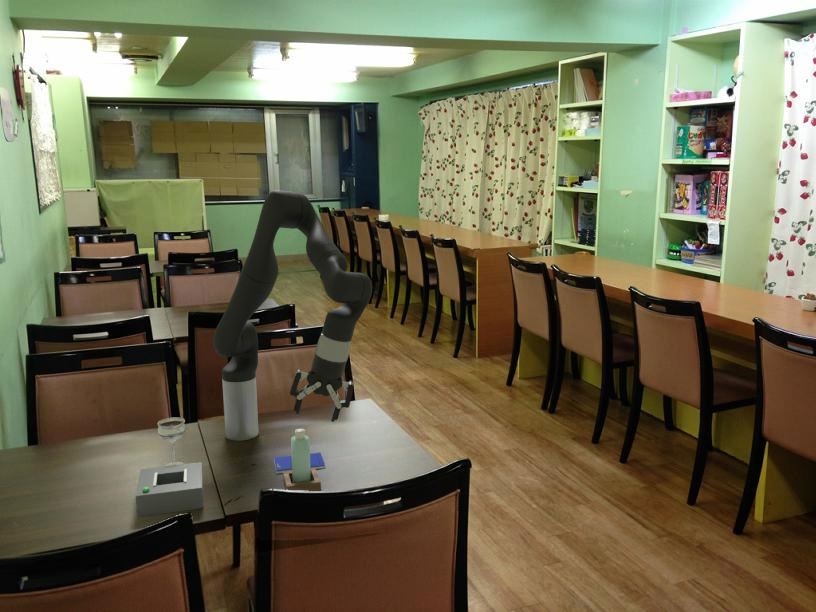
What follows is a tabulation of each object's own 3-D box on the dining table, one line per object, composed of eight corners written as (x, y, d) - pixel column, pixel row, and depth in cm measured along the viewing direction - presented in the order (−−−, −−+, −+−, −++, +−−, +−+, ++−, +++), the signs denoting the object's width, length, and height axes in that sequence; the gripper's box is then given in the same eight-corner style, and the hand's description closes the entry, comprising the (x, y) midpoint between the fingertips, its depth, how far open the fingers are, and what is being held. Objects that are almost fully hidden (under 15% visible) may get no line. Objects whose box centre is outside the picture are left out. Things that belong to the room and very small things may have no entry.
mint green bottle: (291, 481, 168) (289, 428, 165) (309, 479, 169) (307, 426, 167) (293, 490, 164) (291, 435, 161) (312, 487, 165) (310, 433, 162)
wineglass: (168, 474, 172) (165, 429, 170) (155, 466, 177) (152, 422, 174) (193, 465, 177) (190, 421, 175) (179, 458, 182) (176, 415, 179)
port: (142, 488, 165) (140, 466, 164) (203, 480, 169) (201, 459, 168) (137, 516, 152) (135, 493, 150) (203, 507, 156) (201, 485, 154)
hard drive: (276, 469, 173) (325, 464, 176) (273, 456, 180) (320, 451, 184) (276, 475, 173) (325, 470, 176) (273, 462, 181) (320, 457, 184)
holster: (283, 479, 169) (282, 472, 169) (315, 475, 172) (315, 468, 171) (287, 494, 162) (286, 486, 161) (320, 489, 164) (320, 482, 164)
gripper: (361, 355, 163) (344, 416, 167) (302, 341, 161) (286, 403, 165) (361, 367, 156) (343, 430, 160) (300, 352, 154) (283, 416, 158)
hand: (314, 416), depth 163 cm, fingers open, 8 cm apart
